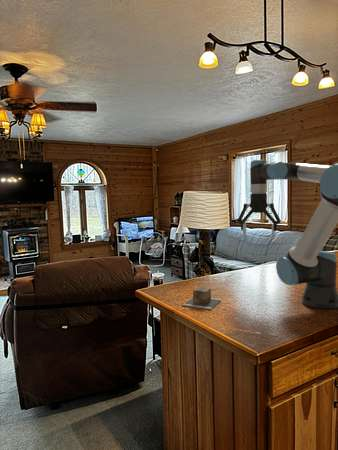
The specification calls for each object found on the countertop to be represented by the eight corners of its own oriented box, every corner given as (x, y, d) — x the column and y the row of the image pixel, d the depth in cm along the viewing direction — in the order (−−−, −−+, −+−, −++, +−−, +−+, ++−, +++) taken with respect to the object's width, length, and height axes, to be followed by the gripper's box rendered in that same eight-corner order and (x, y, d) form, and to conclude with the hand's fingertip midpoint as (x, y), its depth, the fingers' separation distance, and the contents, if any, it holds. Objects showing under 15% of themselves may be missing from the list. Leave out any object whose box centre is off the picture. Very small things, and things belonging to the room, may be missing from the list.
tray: (221, 301, 150) (221, 299, 150) (210, 311, 139) (210, 308, 139) (194, 298, 156) (194, 296, 156) (182, 306, 145) (182, 304, 145)
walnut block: (211, 301, 149) (210, 288, 148) (206, 305, 144) (205, 291, 143) (198, 299, 152) (198, 286, 151) (193, 303, 146) (192, 290, 146)
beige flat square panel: (237, 305, 145) (237, 304, 145) (231, 312, 137) (231, 311, 137) (217, 302, 149) (217, 302, 149) (210, 309, 141) (210, 308, 141)
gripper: (287, 192, 157) (287, 237, 159) (235, 193, 169) (235, 235, 171) (284, 192, 150) (284, 239, 152) (230, 193, 162) (230, 237, 164)
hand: (258, 237), depth 161 cm, fingers open, 13 cm apart
